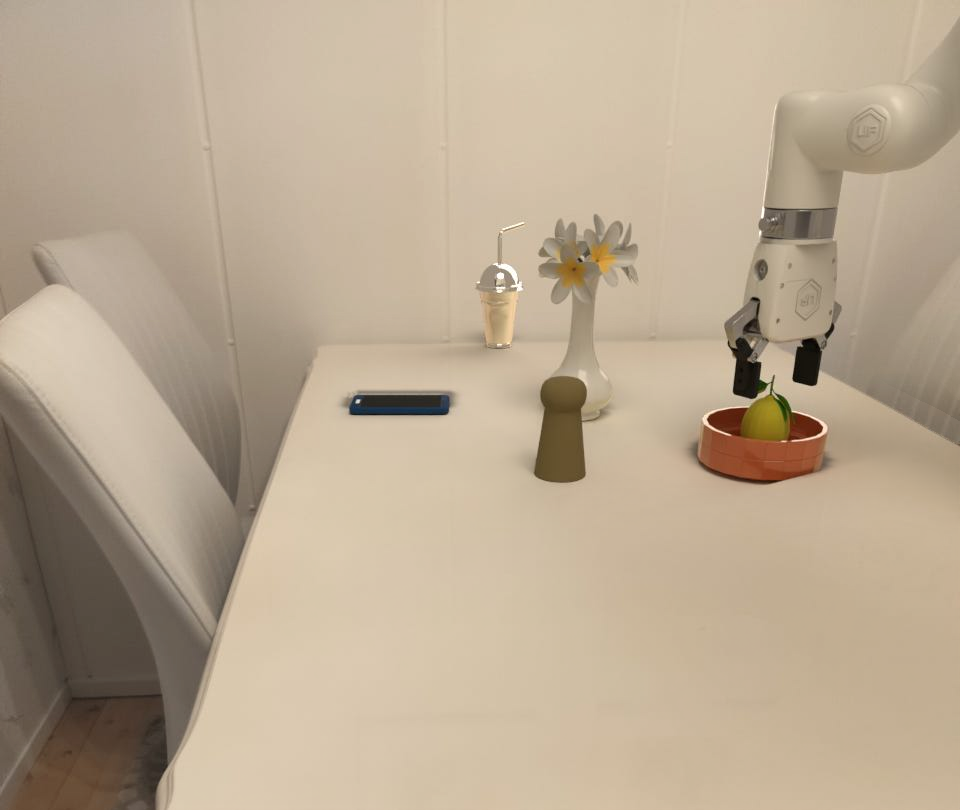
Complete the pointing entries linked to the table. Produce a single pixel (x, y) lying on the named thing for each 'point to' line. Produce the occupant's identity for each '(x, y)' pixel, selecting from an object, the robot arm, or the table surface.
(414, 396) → the cell phone
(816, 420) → the bowl
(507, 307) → the cup with straw
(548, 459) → the olive game pawn
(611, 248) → the flower vase
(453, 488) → the table surface
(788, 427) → the lemon
